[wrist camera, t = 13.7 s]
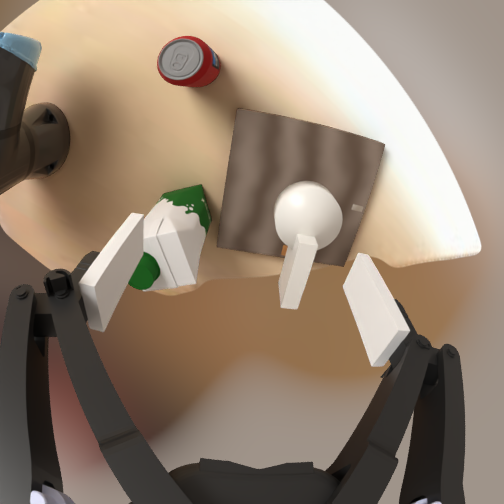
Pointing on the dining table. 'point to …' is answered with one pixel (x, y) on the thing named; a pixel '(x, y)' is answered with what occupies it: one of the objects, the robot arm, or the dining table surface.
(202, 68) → the beverage can
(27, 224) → the dining table surface
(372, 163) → the base plate
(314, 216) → the spoon
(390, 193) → the dining table surface
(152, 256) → the milk carton
